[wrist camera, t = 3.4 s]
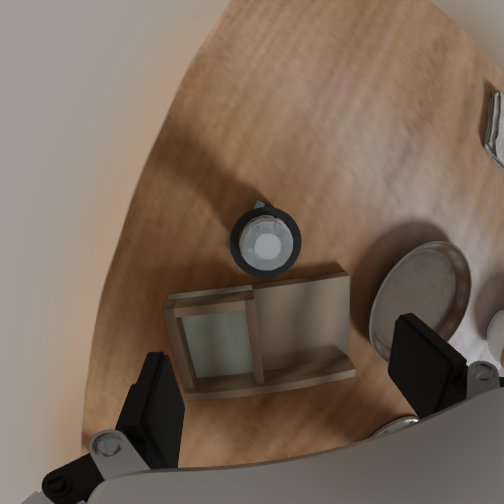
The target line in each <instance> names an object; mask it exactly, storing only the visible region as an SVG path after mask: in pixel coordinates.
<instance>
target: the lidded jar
mask: <svg viewBox="0 0 504 504" xmlns="http://www.w3.org/2000/svg"><path fill="white" fill-rule="evenodd" d="M486 335H487V343H488V348H489V351H490V353H491V355H492V356H493V357H494V359H495V360H496V361H497V362H498V363H499V364H501V366H502V367H503V368H504V310H500V311H498V312H497V313H496V314H495V315H494V316H493V318H492V319H491V321H490V323H489V325H488V328H487V333H486Z"/></svg>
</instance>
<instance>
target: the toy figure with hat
mask: <svg viewBox="0 0 504 504" xmlns="http://www.w3.org/2000/svg"><path fill="white" fill-rule="evenodd" d="M277 217H278V218H280V219H281V220H283V221H284V222H285V224H286V225H287V226H286V225H285V224H284V223H283V222H281V221H279V220H277V219H276V218H277ZM241 230H242V235H241V237H240V240H239V244H240V245H239V246H240V249H239V247H238V238H239V234H240V232H241ZM230 249H231V254H232V256H233V258H234V260H235V262H236V263H237V265H238V266H239V267H240V268H241V269H242V270H244V271H245V272H247V273H248V274H250V275H253V276H256V277H273V276H277V275H279V274H281V273H283V272H285V271H286V270H288V269H289V268H290V267H291V266H292V265H293V264H294V262H295V261H296V259H297V257H298V255H299V253H300V249H301V234H300V230H299V228H298V226H297V224H296V222H295V221H294V220H293V218H292V217H290V216H289V215H288V214H287V213H285V212H284V211H282V210H280V209H277V208H274V207H272V206H270V205H267V204H265V203H263V202H261V201H259V200H257V202H256V204H255V207H254V209H252V210H250V211H248V212H247V213H245V214H244V215H242V216H241V217H240V218H239V220H238V221H237V222H236V223H235V225H234V227H233V229H232V232H231V236H230ZM240 250H241V251H240Z"/></svg>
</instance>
